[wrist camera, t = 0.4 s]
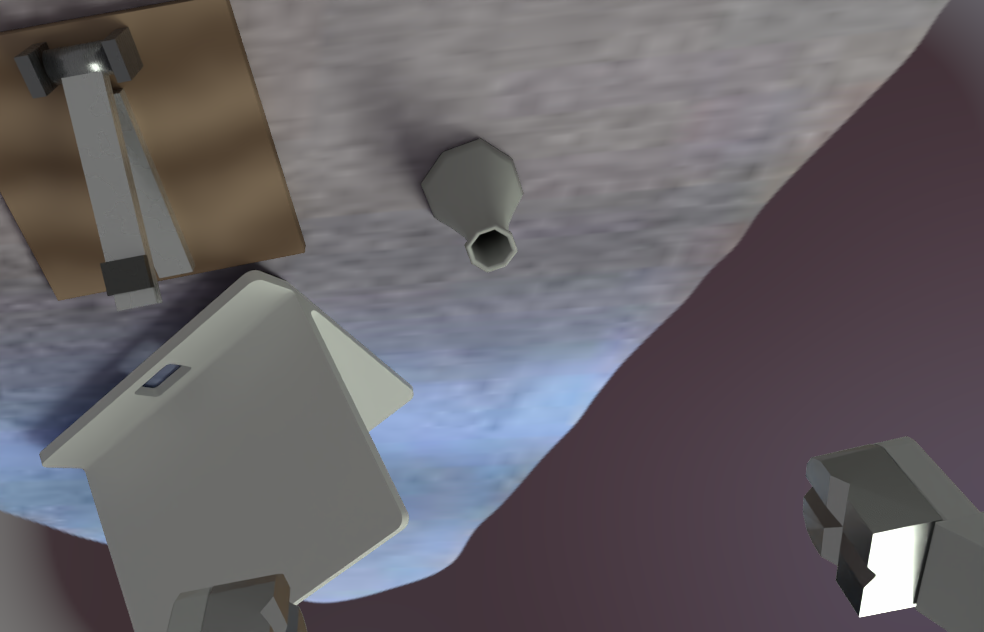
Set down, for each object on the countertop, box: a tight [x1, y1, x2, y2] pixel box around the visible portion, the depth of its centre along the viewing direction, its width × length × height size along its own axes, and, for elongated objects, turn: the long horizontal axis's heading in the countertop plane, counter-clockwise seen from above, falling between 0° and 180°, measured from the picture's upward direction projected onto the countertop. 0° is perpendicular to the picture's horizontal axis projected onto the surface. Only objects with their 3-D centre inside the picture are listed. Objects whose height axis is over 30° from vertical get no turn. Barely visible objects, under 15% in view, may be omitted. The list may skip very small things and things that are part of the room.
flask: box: [421, 139, 523, 273], centre depth 54 cm, size 7×7×10 cm
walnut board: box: [0, 0, 306, 301], centre depth 53 cm, size 18×18×1 cm
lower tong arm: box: [14, 27, 195, 278], centre depth 51 cm, size 16×6×3 cm, turn 8°
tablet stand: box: [39, 270, 413, 632], centre depth 59 cm, size 18×25×17 cm
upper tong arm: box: [42, 40, 162, 311], centre depth 48 cm, size 16×4×2 cm, turn 8°
